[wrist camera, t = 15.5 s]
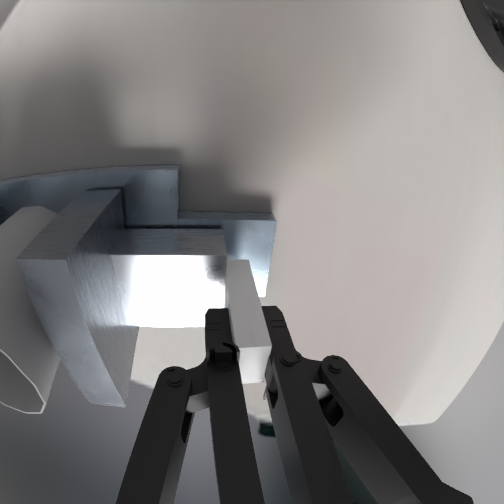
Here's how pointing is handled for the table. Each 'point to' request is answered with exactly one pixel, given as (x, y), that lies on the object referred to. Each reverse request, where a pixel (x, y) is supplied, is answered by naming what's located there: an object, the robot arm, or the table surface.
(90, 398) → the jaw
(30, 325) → the cup
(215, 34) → the table surface
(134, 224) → the vise base
